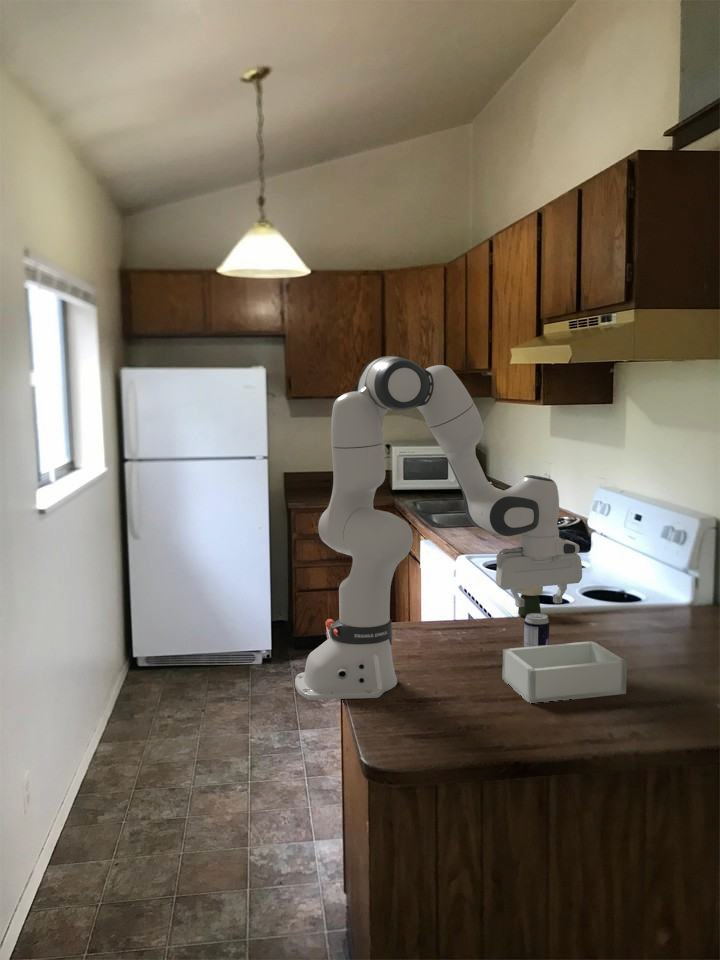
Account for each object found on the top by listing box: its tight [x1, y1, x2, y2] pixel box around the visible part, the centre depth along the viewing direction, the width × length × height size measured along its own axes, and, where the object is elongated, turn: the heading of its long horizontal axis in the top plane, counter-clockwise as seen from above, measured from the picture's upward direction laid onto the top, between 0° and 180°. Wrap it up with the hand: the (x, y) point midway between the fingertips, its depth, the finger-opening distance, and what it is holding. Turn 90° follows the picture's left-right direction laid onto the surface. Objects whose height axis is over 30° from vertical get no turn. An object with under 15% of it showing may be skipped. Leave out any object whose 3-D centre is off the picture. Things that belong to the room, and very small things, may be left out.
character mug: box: [517, 586, 544, 618], centre depth 224 cm, size 11×7×13 cm, turn 129°
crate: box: [501, 640, 628, 705], centre depth 172 cm, size 22×14×7 cm, turn 103°
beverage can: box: [523, 613, 550, 647], centre depth 184 cm, size 6×6×12 cm
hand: (538, 604), depth 184 cm, fingers open, 8 cm apart
